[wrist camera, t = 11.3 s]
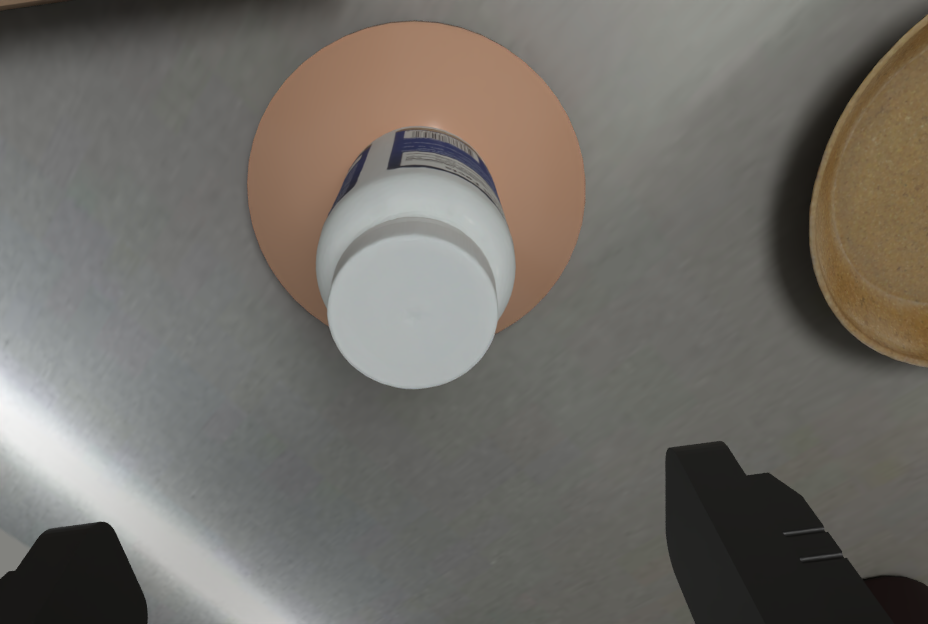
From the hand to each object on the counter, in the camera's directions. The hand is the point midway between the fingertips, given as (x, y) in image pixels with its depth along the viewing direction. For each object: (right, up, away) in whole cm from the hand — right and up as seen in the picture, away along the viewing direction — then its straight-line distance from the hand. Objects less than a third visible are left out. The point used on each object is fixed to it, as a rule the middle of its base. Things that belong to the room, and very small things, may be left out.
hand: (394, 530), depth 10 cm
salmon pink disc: (-1, +8, +16) cm, 18 cm away
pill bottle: (-1, +7, +15) cm, 17 cm away
